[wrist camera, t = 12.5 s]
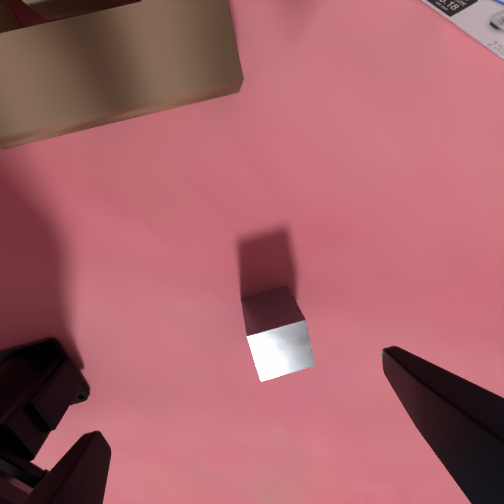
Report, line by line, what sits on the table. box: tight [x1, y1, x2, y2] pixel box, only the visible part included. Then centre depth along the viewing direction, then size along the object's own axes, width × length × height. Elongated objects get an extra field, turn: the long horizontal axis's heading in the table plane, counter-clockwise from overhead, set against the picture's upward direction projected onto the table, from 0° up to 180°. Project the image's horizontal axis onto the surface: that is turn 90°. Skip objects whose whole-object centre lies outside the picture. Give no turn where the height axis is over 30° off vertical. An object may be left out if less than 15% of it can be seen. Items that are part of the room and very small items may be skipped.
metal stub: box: [241, 286, 315, 381], centre depth 20 cm, size 4×4×5 cm
